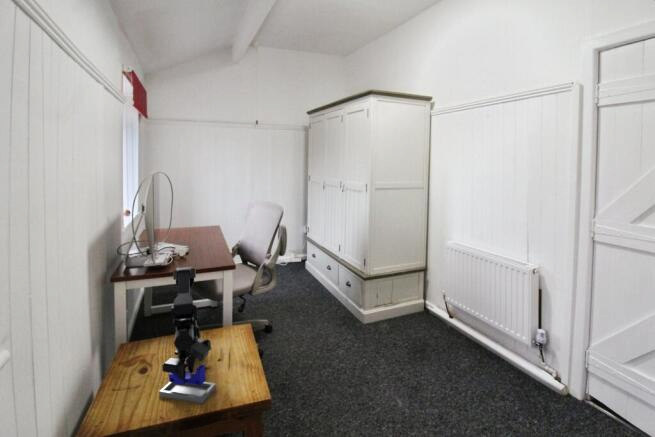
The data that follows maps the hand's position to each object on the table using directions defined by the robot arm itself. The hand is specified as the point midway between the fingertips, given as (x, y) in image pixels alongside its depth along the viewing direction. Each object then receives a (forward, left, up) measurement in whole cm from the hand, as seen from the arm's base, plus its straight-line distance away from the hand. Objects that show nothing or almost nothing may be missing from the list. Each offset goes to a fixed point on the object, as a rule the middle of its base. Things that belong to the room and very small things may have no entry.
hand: (187, 376), depth 132 cm
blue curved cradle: (0, 0, -2) cm, 2 cm away
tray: (0, 0, -6) cm, 6 cm away
